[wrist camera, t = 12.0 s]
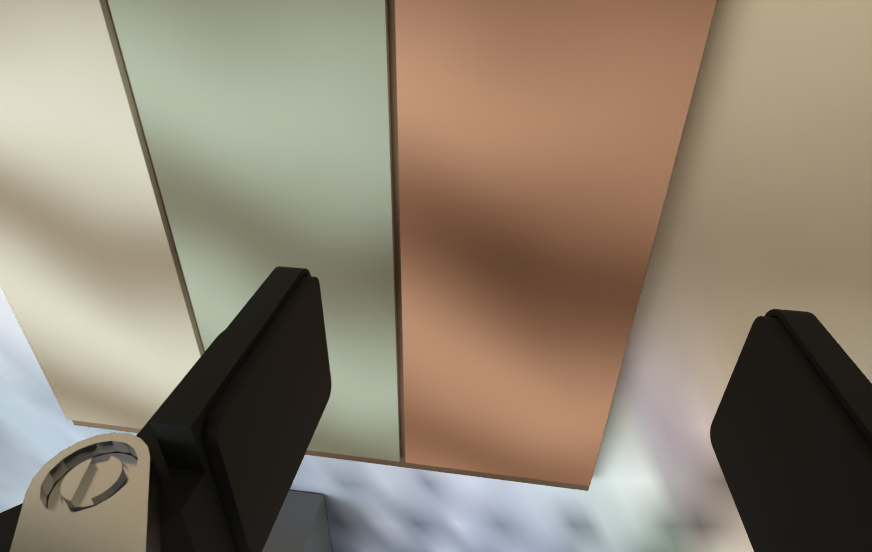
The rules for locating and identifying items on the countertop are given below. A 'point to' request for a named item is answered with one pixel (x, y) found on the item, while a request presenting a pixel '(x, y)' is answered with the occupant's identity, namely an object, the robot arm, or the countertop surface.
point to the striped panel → (348, 205)
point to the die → (300, 525)
